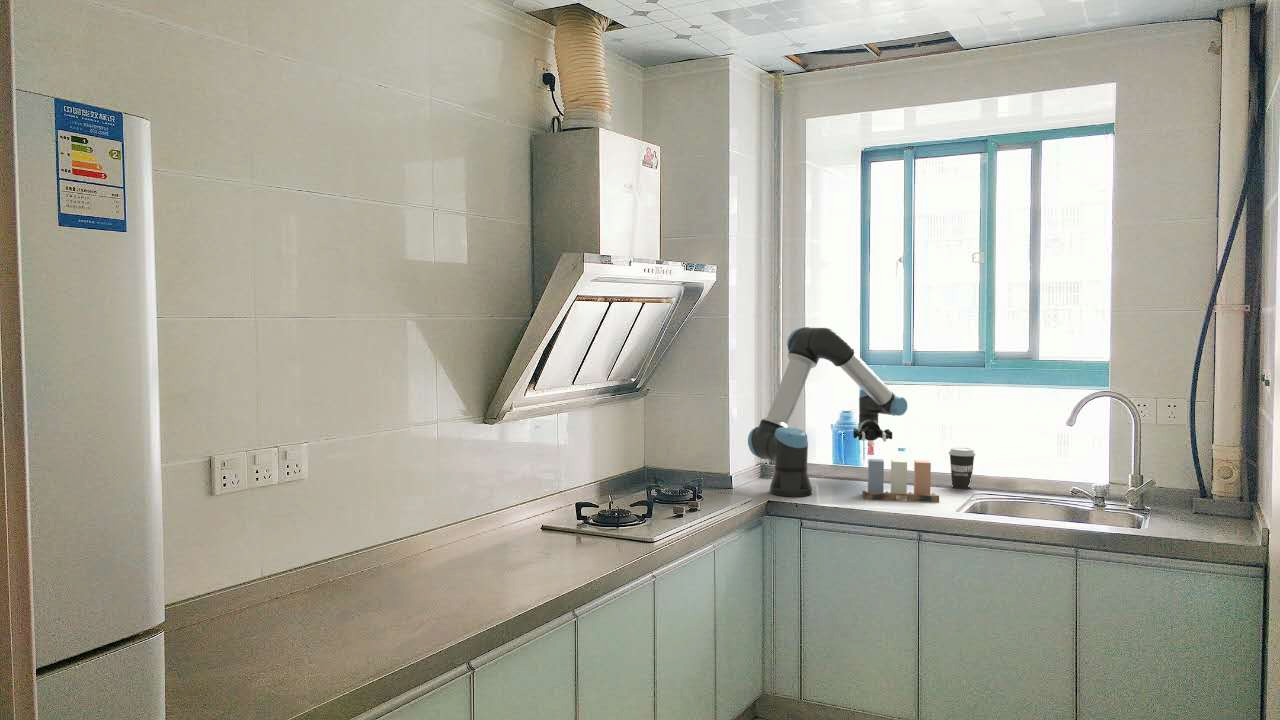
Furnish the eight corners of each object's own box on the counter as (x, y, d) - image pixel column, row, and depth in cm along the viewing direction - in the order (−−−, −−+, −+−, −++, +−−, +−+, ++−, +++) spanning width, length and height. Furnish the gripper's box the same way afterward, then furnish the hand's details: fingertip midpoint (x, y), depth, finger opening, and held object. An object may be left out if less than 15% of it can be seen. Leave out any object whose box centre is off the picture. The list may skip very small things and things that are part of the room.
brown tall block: (915, 496, 319) (916, 462, 318) (913, 493, 324) (914, 460, 323) (930, 496, 318) (930, 463, 317) (928, 494, 323) (928, 460, 322)
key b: (892, 495, 320) (892, 461, 320) (890, 492, 325) (891, 459, 325) (906, 495, 319) (907, 462, 319) (905, 493, 324) (905, 460, 324)
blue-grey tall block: (868, 494, 322) (869, 461, 321) (867, 491, 327) (868, 458, 326) (883, 495, 321) (883, 461, 320) (882, 492, 326) (882, 459, 325)
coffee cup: (942, 487, 342) (943, 447, 342) (961, 485, 346) (962, 446, 346) (961, 491, 334) (961, 451, 333) (980, 489, 338) (981, 449, 337)
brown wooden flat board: (864, 501, 315) (864, 493, 314) (861, 493, 330) (861, 485, 329) (939, 504, 310) (939, 495, 310) (933, 496, 325) (933, 487, 325)
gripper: (895, 440, 353) (902, 448, 331) (844, 439, 357) (846, 447, 334) (896, 421, 353) (902, 428, 330) (844, 420, 356) (847, 426, 334)
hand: (874, 437), depth 332 cm, fingers open, 7 cm apart
